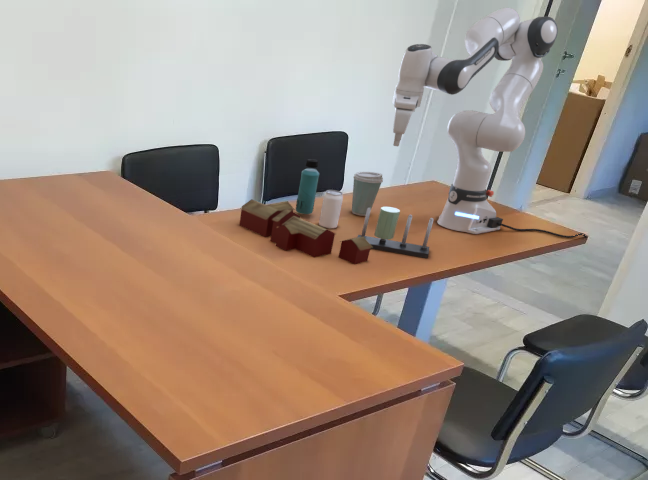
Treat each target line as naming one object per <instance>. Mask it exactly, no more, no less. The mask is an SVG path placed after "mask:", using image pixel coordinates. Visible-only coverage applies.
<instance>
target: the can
mask: <svg viewBox="0 0 648 480" xmlns="http://www.w3.org/2000/svg"><path fill="white" fill-rule="evenodd" d="M343 200H344V195H343V192H342V191H340V190H336V189H327V190H325V194H323V199H322V204H321V209H320V214H319V219H318V226H320V227H323V228H325V229H327V230H331V229H336V228H337V227H338V225H339V219H340V215H341V210H342V205H343Z"/></svg>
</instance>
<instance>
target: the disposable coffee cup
mask: <svg viewBox="0 0 648 480" xmlns="http://www.w3.org/2000/svg"><path fill="white" fill-rule="evenodd" d="M383 181H384V178H383V173H380V172H375V171H358V172H356V173H354V176H353V185H352V187H353V188H352V199H351V214H353V215H357V216H360V217H361V216H363V217H365V216H366V212H367V209H368V208H370V209H371V210H372V208H373V206H374V203H375V201H376V198H377V195H378V193H379V190H380V188H381V185H382V183H383Z"/></svg>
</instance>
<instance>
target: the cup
mask: <svg viewBox="0 0 648 480" xmlns="http://www.w3.org/2000/svg"><path fill="white" fill-rule="evenodd" d="M400 212H401V210H400V209H398V208H397V207H392V206H381V207H380V209H379V213H378V217H377V220H376V225H375V230H374V234H373V235H374V237H375V238H380V239H386V240H393V239H394V237H395V233H396V230H397V225H398V222H399V218H400V214H401V213H400Z"/></svg>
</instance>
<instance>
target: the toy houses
mask: <svg viewBox="0 0 648 480" xmlns="http://www.w3.org/2000/svg"><path fill="white" fill-rule="evenodd" d="M239 209H241V210H240V218H239V226H240V227H243V228H244V229H247V230H249V231H251V232H253V233H255V234H257V235H260V236H262V237H264V238H269V237H270V242H272V243H275V247H277V248H279V249H281V250H284V251H286V252H287V251H291V250H297V251H299V252H301V253H303V254H306V255H308V256H310V257H312V258H317V257H322V256H326V255H331V254H332V251H333V246H334V242H335V236H336V233H335V232H333V231H331V229H328V228H323V227H321V226H320V225H318V224H315V223H313V222H310V221H308V220H305V219H303V218H302V216H301V215H299V213H297V212H296V213H295V212H294V211H296V208H295V207H294V206H292V204H291V203H290V202H289V201H287V200H285V201H280V202H275V203H269V204H264V203H262V202H259V201H257V200H254V199H250V200H248V201H247V202H246V203H244V204H243V205H242V206H241V207H240V208H239ZM357 237H358V236H357ZM357 237H352V238H347V239H343V240H339V242H340V248H339V252H338V258H339V259H342V260H344V261H346V262H348V263H351V264H352V265H357V264H361V263H365V262H368V260H369V255H370V251H371V247H372V246H371V245H370V244H369V242H368V241H367V240H366V239H365V238H364V237H358V238H357ZM372 248H373V247H372Z"/></svg>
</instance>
